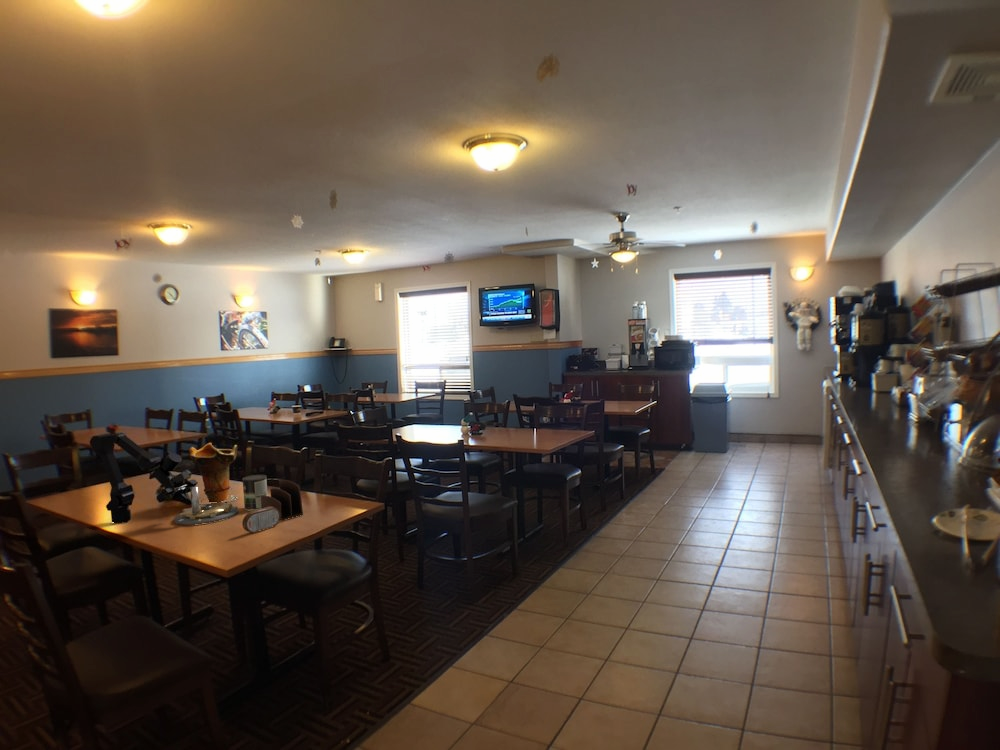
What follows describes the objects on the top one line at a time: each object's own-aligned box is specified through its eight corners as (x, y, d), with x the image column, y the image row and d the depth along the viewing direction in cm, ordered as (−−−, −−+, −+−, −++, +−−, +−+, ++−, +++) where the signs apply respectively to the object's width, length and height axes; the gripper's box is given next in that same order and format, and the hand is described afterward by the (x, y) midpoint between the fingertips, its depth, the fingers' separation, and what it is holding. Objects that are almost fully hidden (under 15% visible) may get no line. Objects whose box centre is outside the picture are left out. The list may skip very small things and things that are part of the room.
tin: (278, 524, 244) (276, 503, 243) (282, 525, 242) (280, 505, 241) (242, 534, 232) (241, 513, 232) (246, 536, 230) (245, 514, 230)
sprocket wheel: (198, 505, 271) (196, 477, 270) (241, 504, 269) (239, 476, 268) (169, 519, 251) (166, 489, 250) (215, 519, 249) (213, 488, 248)
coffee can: (243, 512, 264) (241, 481, 263) (245, 506, 273) (242, 476, 273) (268, 508, 267) (266, 478, 267) (268, 503, 277) (266, 473, 276)
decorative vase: (227, 506, 274) (220, 446, 272) (183, 508, 278) (175, 449, 277) (253, 494, 294) (247, 438, 293) (212, 496, 298) (205, 441, 297)
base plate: (170, 529, 244) (170, 524, 244) (179, 513, 267) (178, 509, 267) (236, 519, 253) (236, 515, 253) (239, 505, 276) (239, 501, 276)
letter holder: (283, 507, 268) (280, 477, 267) (303, 515, 254) (301, 483, 253) (261, 513, 261) (258, 481, 260) (280, 521, 247) (278, 488, 246)
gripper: (160, 470, 242) (186, 496, 241) (192, 461, 261) (216, 485, 259) (145, 489, 244) (170, 515, 243) (178, 478, 262) (201, 503, 261)
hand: (190, 504), depth 251 cm, fingers closed, pressing on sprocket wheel
